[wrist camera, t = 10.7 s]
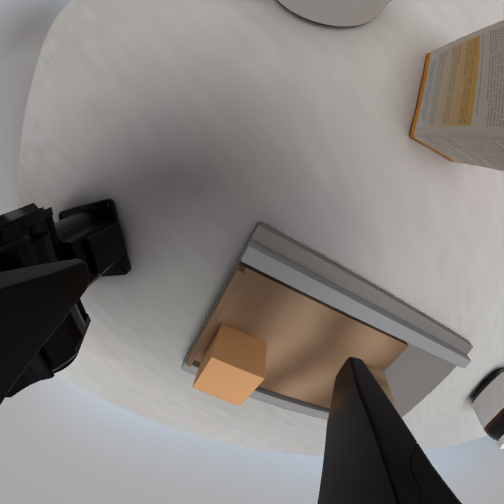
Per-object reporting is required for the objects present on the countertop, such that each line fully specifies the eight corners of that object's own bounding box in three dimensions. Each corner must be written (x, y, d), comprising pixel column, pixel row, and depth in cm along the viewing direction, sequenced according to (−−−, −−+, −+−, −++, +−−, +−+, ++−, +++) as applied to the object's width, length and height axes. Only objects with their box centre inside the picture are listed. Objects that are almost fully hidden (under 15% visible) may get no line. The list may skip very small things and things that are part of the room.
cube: (203, 353, 22) (192, 387, 19) (221, 322, 21) (211, 357, 17) (244, 371, 23) (239, 405, 19) (266, 342, 21) (264, 378, 18)
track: (183, 360, 25) (177, 376, 23) (259, 221, 20) (257, 230, 18) (383, 424, 28) (387, 436, 26) (469, 341, 23) (477, 353, 21)
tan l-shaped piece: (190, 351, 23) (142, 486, 11) (240, 259, 20) (193, 434, 7) (339, 405, 25) (355, 517, 12) (405, 340, 22) (462, 462, 9)
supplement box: (451, 163, 17) (580, 201, 4) (406, 136, 16) (547, 147, 4) (468, 81, 14) (582, 69, 1) (426, 51, 13) (537, 5, 1)
